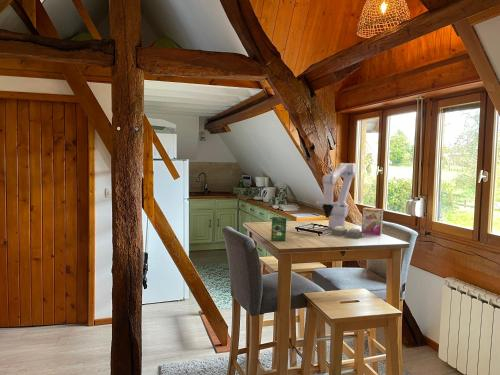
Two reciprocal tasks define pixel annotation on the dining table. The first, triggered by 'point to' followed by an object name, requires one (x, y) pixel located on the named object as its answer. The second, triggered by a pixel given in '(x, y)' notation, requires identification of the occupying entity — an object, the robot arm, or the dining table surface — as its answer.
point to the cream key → (339, 228)
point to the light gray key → (354, 230)
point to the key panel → (347, 234)
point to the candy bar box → (372, 221)
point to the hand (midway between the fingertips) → (327, 217)
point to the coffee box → (278, 229)
